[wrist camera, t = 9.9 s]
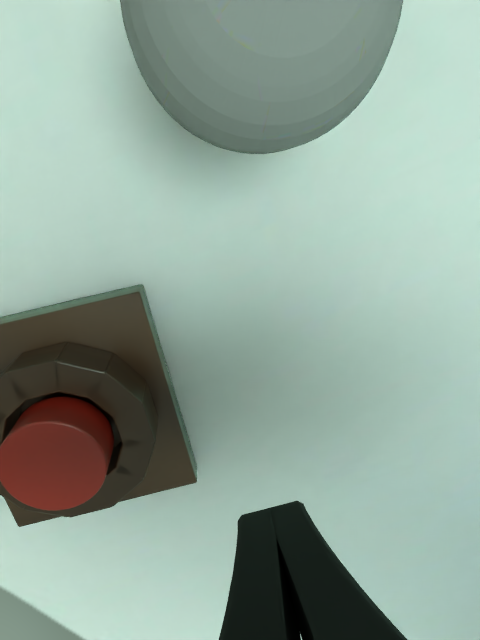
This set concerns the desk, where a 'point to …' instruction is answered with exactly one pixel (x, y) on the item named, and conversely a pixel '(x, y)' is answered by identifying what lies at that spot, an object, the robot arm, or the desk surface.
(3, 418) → the button block
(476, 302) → the desk surface
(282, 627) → the robot arm
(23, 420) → the button
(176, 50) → the light bulb
